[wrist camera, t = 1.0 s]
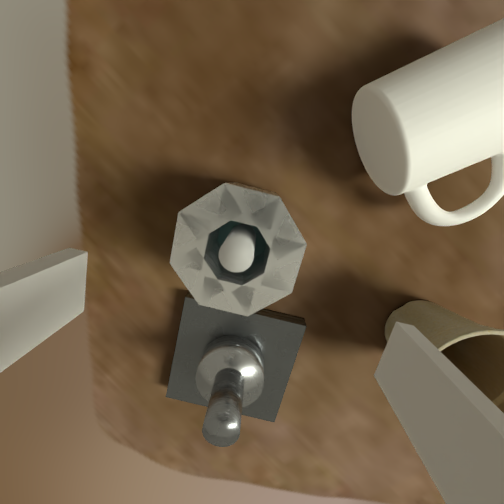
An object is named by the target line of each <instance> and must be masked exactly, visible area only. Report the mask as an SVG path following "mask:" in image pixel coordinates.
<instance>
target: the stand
mask: <svg viewBox="0 0 504 504" xmlns="http://www.w3.org/2000/svg"><path fill="white" fill-rule="evenodd" d="M218 242H219V243H220V245H221V247H220V250H219V260H220V263H221V264H222V266H223V267H224V268H225V269H227V270H228V271H231V272H242V271H245V270H246V269H248V268H249V267H250V266H251V264H252V262H253V258H254V257H255V256H257V255H259V254H261V253H262V252H264V250H265V246H266V241H265V239H264V237H263V236H262V234H261V232H260V231H259V229H258V227H256V226H252V225H248V224H244V223H240V222H236V221H232V220H231V221H229V222H227V223H226V224H224V225H222V226H221V227H220V231H219V236H218Z"/></svg>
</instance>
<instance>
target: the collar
mask: <svg viewBox="0 0 504 504" xmlns="http://www.w3.org/2000/svg"><path fill="white" fill-rule="evenodd" d="M231 220H232V221H236V222H240V223H244V224H248V225H252V226H256V227H258V229H259V231H260V232H261V234H262V236H263V237H264V239H265V241H266V246H265V250H264V252H262V253H261V254H259V255H257V256H255V257H254V258H253V262H252V264H251V266H250V267H249V268H248V269H246V270H245V271H242V272H231V271H228V270H227V269H225V268H224V267H223V266H222V264H221V263H220V260H219V250H220V247H221V245H220V243H219V242H218V236H219V231H220V227H221V226H222V225H224V224H226V223H227V222H229V221H231ZM306 245H307V244H306V242H305V240H304V239H303V237H302V235H301V233H300V231H299V230H298V228H297V226H296V224H295V223H294V221H293V219H292V217H291V216H290V214H289V212H288V210H287V209H286V207H285V205H284V203H283V202H282V200H281V198H280V197H279V196H278V195H277V193H276V192H272V191H268V190H264V189H260V188H256V187H252V186H248V185H244V184H240V183H236V182H229V183H223V184H222V185H220V186H219V187H217V188H216V189H214V190H212V191H211V192H209V193H208V194H206V195H205V196H203V197H201V198H200V199H198V200H197V201H195V202H194V203H192V204H190V205H189V206H187V207H186V208H184V209H183V210H181V211H179V212H178V217H177V223H176V229H175V235H174V241H173V246H172V252H171V258H170V264H171V266H172V267H173V269H174V270H175V272H176V273H177V274H178V276H179V277H180V279H181V280H182V281H183V283H184V284H185V286H186V287H187V289H188V290H189V291H190V293H191V294H192V296H193V297H194V299H195V300H196V301H197V303H198V304H199V305H202V306H206V307H211V308H215V309H219V310H223V311H227V312H231V313H235V314H240V315H244V316H249V315H251V314H253V313H255V312H257V311H259V310H261V309H263V308H265V307H266V306H268V305H270V304H272V303H274V302H276V301H278V300H280V299H281V298H283V297H285V296H287V295H289V294H291V293H292V291H293V287H294V284H295V281H296V278H297V274H298V271H299V268H300V265H301V261H302V258H303V255H304V252H305V248H306Z"/></svg>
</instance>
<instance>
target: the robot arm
mask: <svg viewBox="0 0 504 504" xmlns="http://www.w3.org/2000/svg"><path fill="white" fill-rule="evenodd" d="M87 256H88V252H86V251H82V250H77V249H73V248H68V249H64V250H62V251H59V252H56V253H53V254H50V255H48V256H45V257H42V258H39V259H36V260H33V261H30V262H28V263H25V264H22V265H19V266H16V267H13V268H11V269H8V270H5V271H2V272H0V372H2V371H3V370H4V369H6V368H7V367H8V366H10V365H11V364H13V363H14V362H15V361H17V360H18V359H19V358H21V357H22V356H23V355H25V354H26V353H28V352H29V351H30V350H32V349H33V348H34V347H36V346H37V345H38V344H40V343H41V342H42V341H44V340H45V339H47V338H48V337H49V336H51V335H52V334H53V333H55V332H56V331H58V330H59V329H60V328H62V327H63V326H64V325H66V324H67V323H68V322H70V321H71V320H72V319H74V318H75V317H77V316H78V315H79V314H81V313H82V312H83V311H84V302H85V286H86V271H87ZM374 377H375V378H376V380H377V382H378V384H379V385H380V387H381V389H382V391H383V393H384V394H385V396H386V398H387V400H388V401H389V403H390V405H391V407H392V409H393V410H394V412H395V414H396V416H397V417H398V419H399V421H400V423H401V425H402V426H403V428H404V430H405V432H406V433H407V435H408V437H409V439H410V441H411V442H412V444H413V446H414V448H415V449H416V451H417V453H418V455H419V457H420V458H421V460H422V462H423V464H424V465H425V467H426V469H427V471H428V473H429V474H430V476H431V478H432V480H433V481H434V483H435V485H436V487H437V489H438V490H439V492H440V494H441V496H442V497H443V499H444V501H445V503H446V504H504V413H503V412H502V411H501V410H500V409H499V408H498V407H497V406H496V405H495V404H494V403H493V402H492V401H491V400H490V399H489V398H488V397H486V396H485V395H484V394H483V393H482V392H481V391H480V390H479V389H478V388H477V387H476V386H475V385H474V384H473V383H472V382H471V381H470V380H469V379H468V378H467V377H466V376H465V375H464V374H463V373H462V372H461V371H460V370H459V369H458V368H457V367H456V366H455V365H454V364H453V363H452V362H451V361H450V360H449V359H447V358H446V357H445V356H444V355H443V354H442V353H441V352H440V351H439V350H438V349H437V348H436V347H435V346H434V345H433V344H432V343H431V342H430V341H429V340H428V339H427V338H426V337H425V336H424V335H423V334H422V333H421V332H420V331H419V330H418V329H417V328H416V327H415V326H414V325H409V324H405V323H400V322H396V323H395V325H394V328H393V330H392V333H391V335H390V337H389V340H388V342H387V345H386V347H385V350H384V352H383V355H382V357H381V359H380V362H379V364H378V367H377V369H376V372H375V374H374Z"/></svg>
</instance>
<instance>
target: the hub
mask: <svg viewBox="0 0 504 504" xmlns="http://www.w3.org/2000/svg"><path fill="white" fill-rule="evenodd" d="M305 329H306V323H305V320H304V318H299V317H295V316H291V315H287V314H283V313H279V312H275V311H271V310H267V309H261V310H259V311H257V312H255V313H253V314H251V315H249V316H244V315H240V314H235V313H231V312H227V311H223V310H219V309H215V308H211V307H206V306H202V305H199V304H198V303H197V301H196V300H195V299H194V297H193V296H192V294H191V293H190V291H189V292H188V294H187V295H186V297H185V301H184V306H183V312H182V317H181V322H180V327H179V332H178V337H177V342H176V348H175V353H174V358H173V363H172V368H171V373H170V378H169V383H168V389H167V394H166V397H168V398H173V399H177V400H181V401H185V402H190V403H194V404H198V405H203V406H207V407H208V408H207V412H206V416H205V420H204V424H203V428H202V433H203V436H204V438H205V439H206V440H207V441H208V442H209V443H211V444H212V445H215V446H219V447H226V446H230V445H232V444H234V443H235V442H236V441H237V440H238V438H239V435H240V426H241V415H245V416H250V417H254V418H258V419H263V420H267V421H271V422H275V419H276V416H277V413H278V410H279V407H280V404H281V401H282V398H283V395H284V392H285V389H286V386H287V383H288V380H289V377H290V374H291V371H292V368H293V365H294V362H295V359H296V356H297V353H298V350H299V347H300V344H301V341H302V338H303V335H304V332H305Z"/></svg>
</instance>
